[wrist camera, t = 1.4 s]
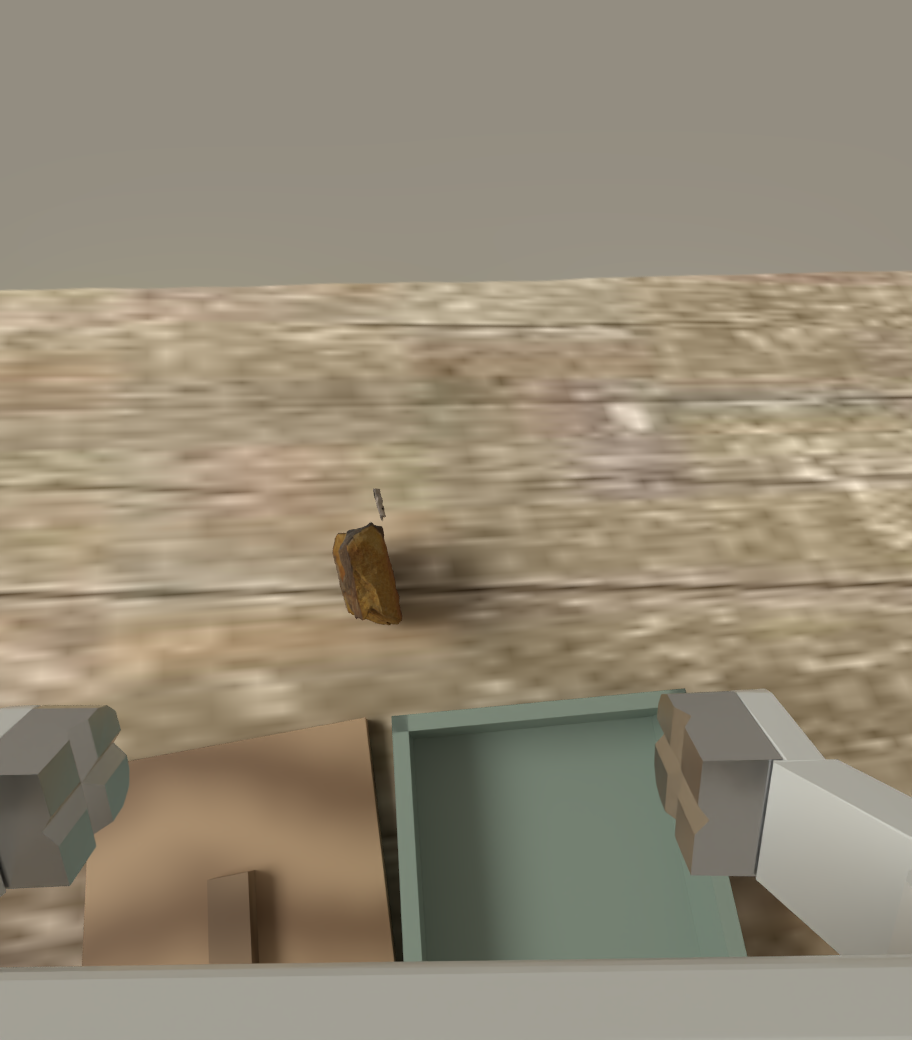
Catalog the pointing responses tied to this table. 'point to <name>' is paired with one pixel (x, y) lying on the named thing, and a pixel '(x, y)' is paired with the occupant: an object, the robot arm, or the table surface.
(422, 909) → the bin
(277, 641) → the table surface
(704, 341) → the table surface
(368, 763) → the lid
